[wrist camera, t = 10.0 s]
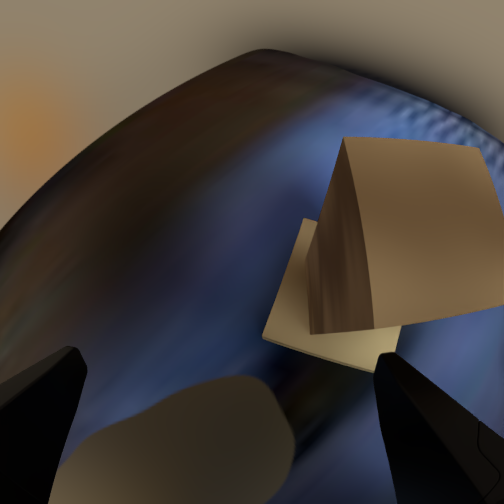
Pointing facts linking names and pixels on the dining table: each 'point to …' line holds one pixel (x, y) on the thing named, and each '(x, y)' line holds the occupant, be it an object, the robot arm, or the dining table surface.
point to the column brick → (404, 237)
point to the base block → (297, 319)
